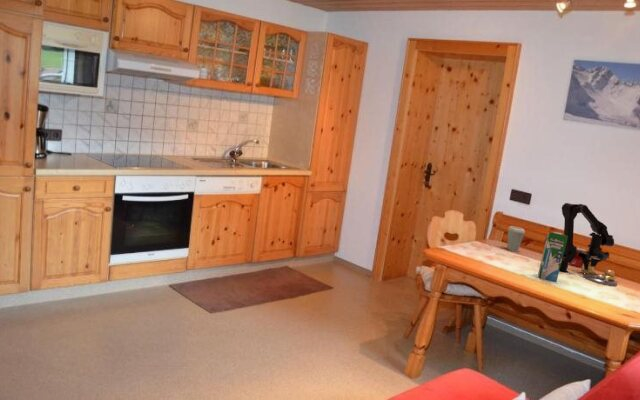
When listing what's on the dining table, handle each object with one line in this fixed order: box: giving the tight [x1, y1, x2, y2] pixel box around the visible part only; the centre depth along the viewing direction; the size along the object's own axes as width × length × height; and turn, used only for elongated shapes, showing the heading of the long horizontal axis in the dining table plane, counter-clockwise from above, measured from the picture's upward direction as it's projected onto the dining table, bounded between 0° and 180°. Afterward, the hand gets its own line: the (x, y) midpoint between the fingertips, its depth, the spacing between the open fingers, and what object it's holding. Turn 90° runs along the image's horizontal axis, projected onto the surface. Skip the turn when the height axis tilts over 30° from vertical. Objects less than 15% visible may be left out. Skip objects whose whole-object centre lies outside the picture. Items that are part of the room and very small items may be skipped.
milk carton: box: [537, 231, 568, 283], centre depth 301 cm, size 9×9×25 cm
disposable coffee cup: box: [506, 225, 526, 252], centre depth 367 cm, size 11×11×15 cm
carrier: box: [582, 269, 618, 287], centre depth 322 cm, size 20×18×6 cm
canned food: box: [568, 247, 587, 269], centre depth 354 cm, size 8×8×11 cm
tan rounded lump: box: [580, 264, 596, 275], centre depth 336 cm, size 7×7×5 cm
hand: (588, 270), depth 336 cm, fingers open, 5 cm apart
